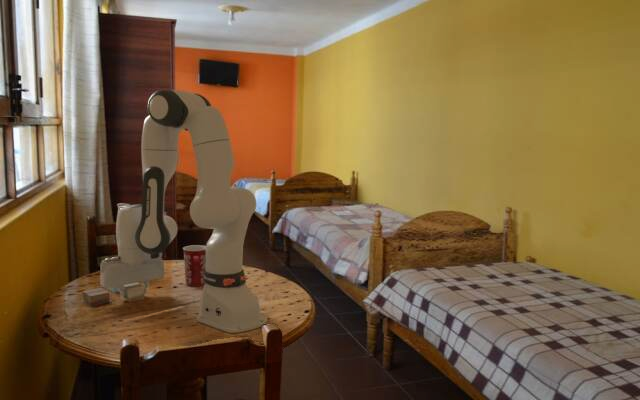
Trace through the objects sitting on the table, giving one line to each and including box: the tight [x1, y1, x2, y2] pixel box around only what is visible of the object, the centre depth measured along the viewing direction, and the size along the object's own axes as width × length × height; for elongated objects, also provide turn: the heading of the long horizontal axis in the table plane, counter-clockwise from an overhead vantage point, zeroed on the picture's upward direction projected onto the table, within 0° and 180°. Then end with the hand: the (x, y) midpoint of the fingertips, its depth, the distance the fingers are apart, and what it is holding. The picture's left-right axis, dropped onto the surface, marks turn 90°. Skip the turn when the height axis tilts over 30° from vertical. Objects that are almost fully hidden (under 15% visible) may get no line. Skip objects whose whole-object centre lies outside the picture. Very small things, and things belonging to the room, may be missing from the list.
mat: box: [80, 299, 112, 307], centre depth 160 cm, size 12×10×1 cm
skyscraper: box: [115, 202, 131, 247], centre depth 188 cm, size 8×8×28 cm
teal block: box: [107, 287, 123, 294], centre depth 171 cm, size 5×5×5 cm
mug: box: [182, 244, 206, 287], centre depth 180 cm, size 13×9×14 cm
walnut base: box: [82, 287, 111, 306], centre depth 160 cm, size 6×6×3 cm
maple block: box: [123, 282, 145, 303], centre depth 163 cm, size 5×5×5 cm
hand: (133, 295), depth 163 cm, fingers closed on maple block, 5 cm apart
